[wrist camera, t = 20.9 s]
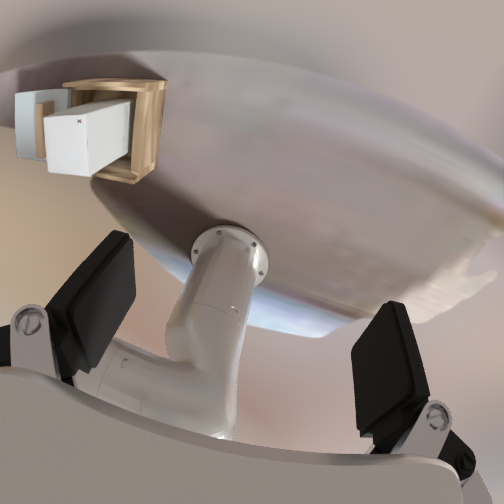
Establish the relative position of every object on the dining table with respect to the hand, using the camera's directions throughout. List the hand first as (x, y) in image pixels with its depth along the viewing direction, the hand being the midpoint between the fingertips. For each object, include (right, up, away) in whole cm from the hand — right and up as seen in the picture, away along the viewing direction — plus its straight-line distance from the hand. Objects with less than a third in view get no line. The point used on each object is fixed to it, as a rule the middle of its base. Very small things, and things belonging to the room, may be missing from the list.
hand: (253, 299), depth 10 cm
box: (-19, +21, +26) cm, 38 cm away
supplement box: (-19, +20, +25) cm, 38 cm away
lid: (-31, +21, +21) cm, 43 cm away
